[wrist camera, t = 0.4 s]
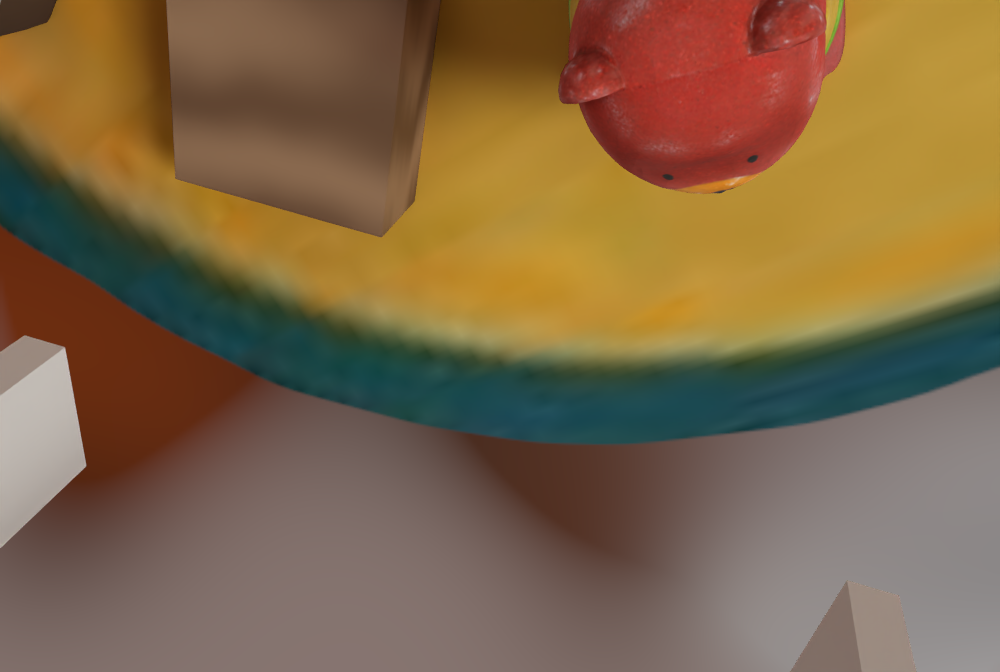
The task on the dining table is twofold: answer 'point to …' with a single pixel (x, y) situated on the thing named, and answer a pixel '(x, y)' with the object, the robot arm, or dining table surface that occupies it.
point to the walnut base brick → (303, 102)
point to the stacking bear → (699, 82)
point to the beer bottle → (23, 14)
